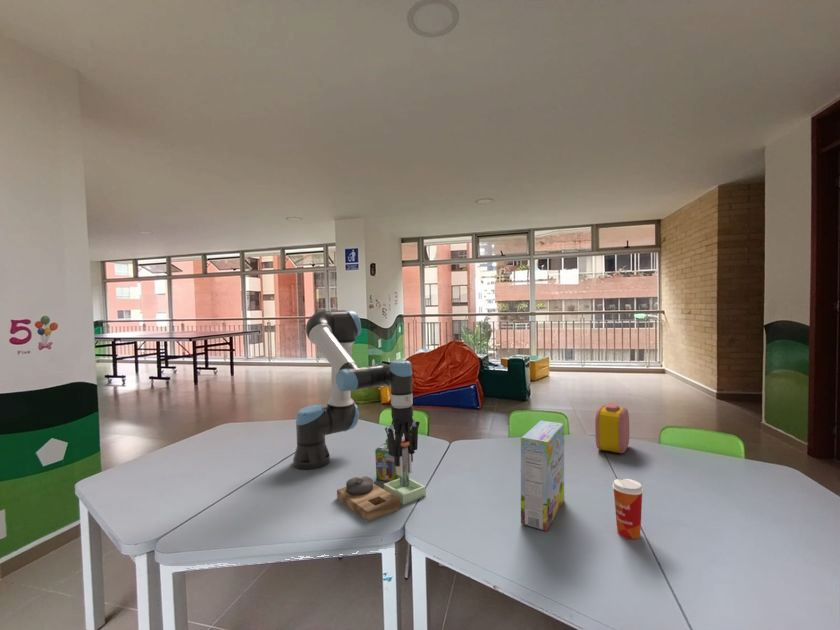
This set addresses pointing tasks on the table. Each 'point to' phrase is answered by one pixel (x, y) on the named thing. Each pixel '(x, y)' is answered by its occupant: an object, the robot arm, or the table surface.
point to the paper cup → (628, 507)
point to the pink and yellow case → (612, 428)
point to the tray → (405, 490)
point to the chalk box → (385, 464)
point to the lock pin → (405, 463)
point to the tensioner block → (367, 498)
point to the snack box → (542, 474)
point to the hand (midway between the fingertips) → (404, 473)
